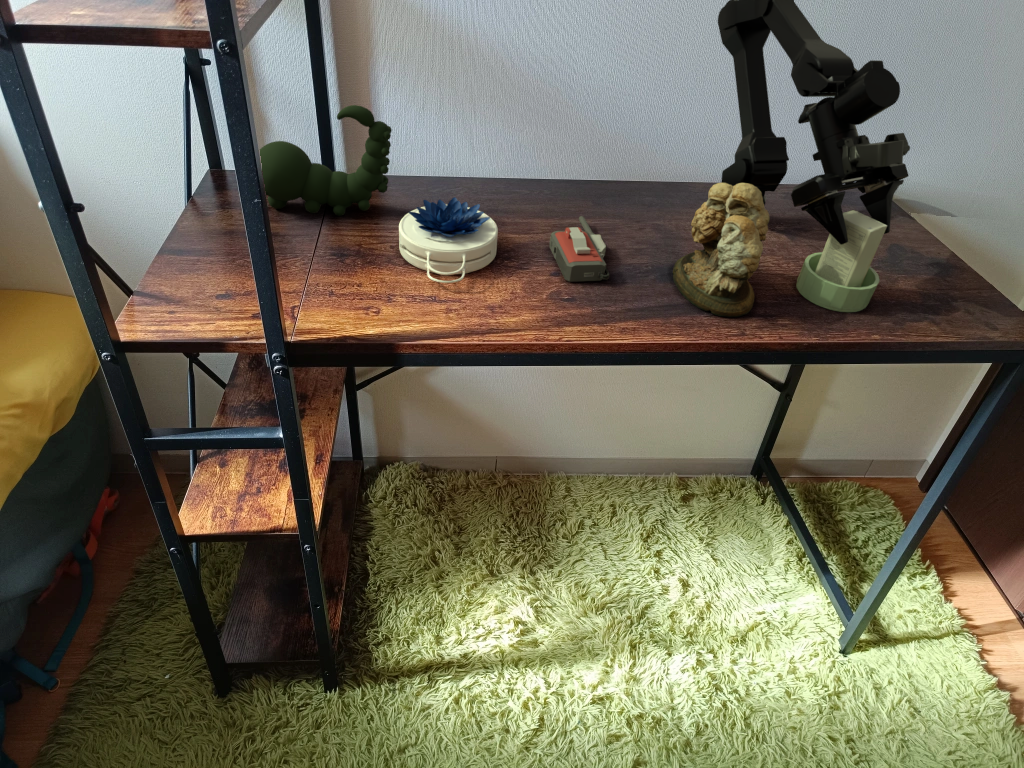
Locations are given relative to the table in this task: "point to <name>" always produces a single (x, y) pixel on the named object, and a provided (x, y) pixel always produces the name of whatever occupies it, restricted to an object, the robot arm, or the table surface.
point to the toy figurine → (327, 171)
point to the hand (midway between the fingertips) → (865, 238)
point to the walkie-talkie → (579, 253)
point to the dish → (834, 288)
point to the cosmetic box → (851, 251)
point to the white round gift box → (448, 238)
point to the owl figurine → (724, 250)
